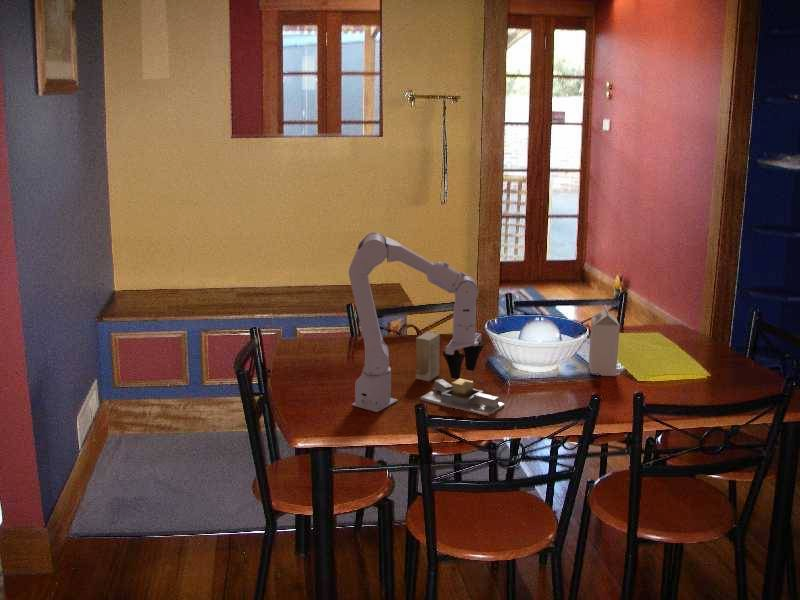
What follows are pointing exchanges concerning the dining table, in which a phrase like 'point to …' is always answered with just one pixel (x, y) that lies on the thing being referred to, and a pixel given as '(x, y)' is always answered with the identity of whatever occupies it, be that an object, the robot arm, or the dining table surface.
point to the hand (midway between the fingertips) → (462, 374)
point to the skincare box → (427, 356)
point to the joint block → (462, 388)
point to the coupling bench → (462, 399)
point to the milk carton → (604, 343)
